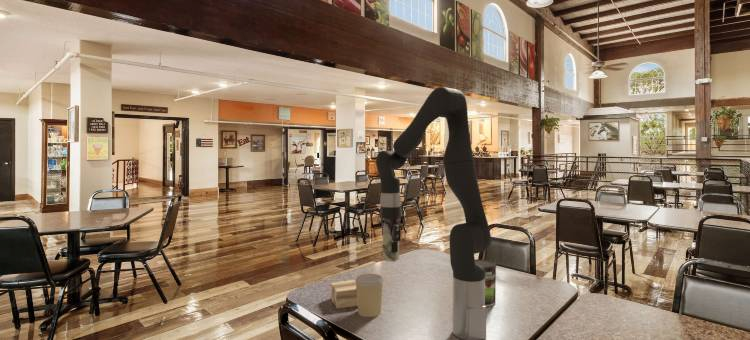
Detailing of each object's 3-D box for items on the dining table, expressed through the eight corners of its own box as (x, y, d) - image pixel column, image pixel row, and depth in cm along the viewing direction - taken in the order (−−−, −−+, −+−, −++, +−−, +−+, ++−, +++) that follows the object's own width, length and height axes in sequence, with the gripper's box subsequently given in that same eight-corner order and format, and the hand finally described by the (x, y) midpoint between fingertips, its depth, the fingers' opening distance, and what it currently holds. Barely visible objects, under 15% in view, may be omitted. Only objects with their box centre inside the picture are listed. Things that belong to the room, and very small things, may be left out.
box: (382, 260, 139) (381, 225, 138) (387, 257, 143) (386, 223, 142) (395, 262, 136) (394, 226, 136) (400, 259, 140) (399, 224, 140)
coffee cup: (367, 304, 135) (367, 271, 135) (388, 311, 129) (388, 276, 129) (350, 313, 128) (349, 278, 127) (371, 321, 122) (371, 284, 121)
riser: (364, 304, 135) (364, 288, 135) (336, 308, 132) (336, 291, 132) (356, 294, 144) (356, 279, 144) (330, 298, 141) (330, 282, 141)
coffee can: (501, 305, 134) (502, 265, 133) (475, 308, 131) (475, 268, 131) (485, 294, 144) (486, 258, 143) (461, 297, 141) (461, 260, 141)
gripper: (407, 206, 133) (408, 253, 134) (392, 202, 147) (393, 245, 147) (387, 207, 131) (388, 255, 131) (374, 203, 145) (375, 246, 145)
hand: (391, 250), depth 139 cm, fingers closed on box, 6 cm apart
